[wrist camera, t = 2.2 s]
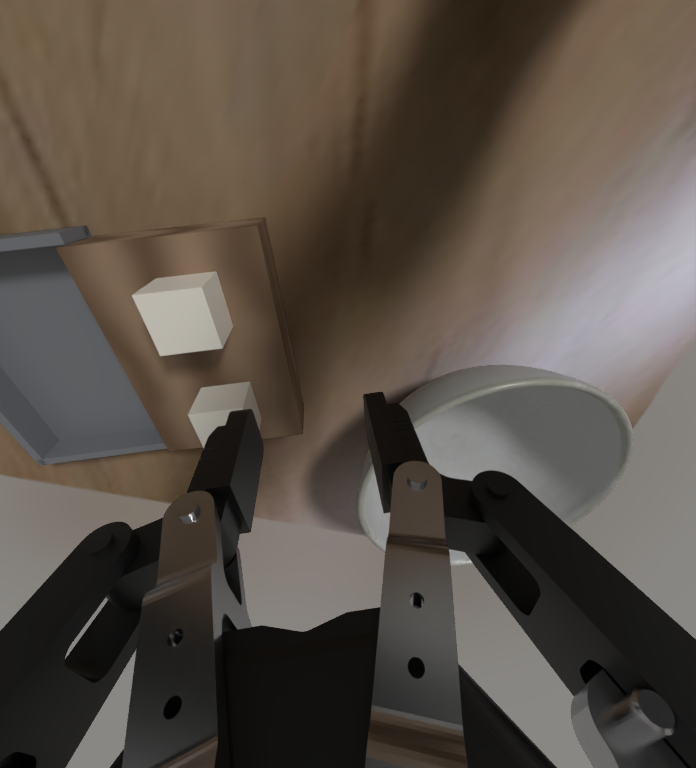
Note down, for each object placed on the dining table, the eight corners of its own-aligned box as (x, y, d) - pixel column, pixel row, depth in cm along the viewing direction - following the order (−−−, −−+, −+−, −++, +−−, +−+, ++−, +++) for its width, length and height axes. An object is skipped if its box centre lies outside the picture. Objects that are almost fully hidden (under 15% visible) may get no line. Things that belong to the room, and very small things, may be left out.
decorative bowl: (354, 497, 49) (366, 582, 39) (333, 336, 34) (344, 406, 24) (526, 472, 50) (582, 549, 40) (581, 305, 35) (691, 359, 25)
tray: (86, 225, 26) (58, 232, 23) (184, 426, 38) (174, 447, 35) (-99, 245, 26) (-151, 255, 23) (60, 442, 38) (39, 465, 35)
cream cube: (216, 271, 24) (201, 287, 21) (233, 326, 27) (222, 348, 24) (155, 278, 24) (131, 295, 21) (178, 333, 27) (160, 356, 23)
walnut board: (264, 217, 27) (257, 225, 23) (303, 405, 38) (303, 433, 34) (95, 236, 27) (55, 247, 22) (184, 420, 38) (169, 451, 34)
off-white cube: (250, 381, 30) (242, 407, 27) (261, 418, 32) (256, 446, 29) (201, 387, 30) (187, 414, 26) (216, 424, 32) (205, 453, 29)
